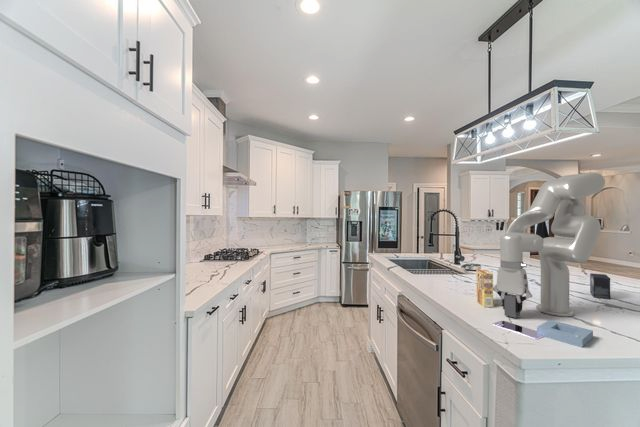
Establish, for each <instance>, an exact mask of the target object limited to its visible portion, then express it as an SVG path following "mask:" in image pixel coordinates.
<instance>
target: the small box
mask: <svg viewBox="0 0 640 427" xmlns="http://www.w3.org/2000/svg"><path fill="white" fill-rule="evenodd" d="M589 286H590V289H589V291H590V294H591V296H592V297H593V298H595V299H604V300H611V278H610V277H609V275H607V274H603V273H591V272H590V274H589Z"/></svg>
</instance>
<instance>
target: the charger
mask: <svg viewBox="0 0 640 427" xmlns="http://www.w3.org/2000/svg"><path fill="white" fill-rule="evenodd" d="M516 302H517V298H516V294H510V293H508V294H507V295H504V309H503V310H504V312H503V313H504V316H506V317H511V318H513V319H517V318H518V317H520V316H521V311H520V312H519V313H517V312H516Z"/></svg>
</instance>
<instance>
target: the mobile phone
mask: <svg viewBox="0 0 640 427" xmlns="http://www.w3.org/2000/svg"><path fill="white" fill-rule="evenodd" d="M491 325H492V326H493V327H495V328H499V329H502V330H504V331H508V332H511V333H514V334H517V335H519V336H523V337H526V338H529V339H532V340H535V341H536V340H540V339H543V338H544V335H542V334H538V333H537V330H536V329H532V328H528V327H525V326H521V325H519V324H516V323H512V322H509V321H505V320H499V321H497V322H493V323H492V324H491Z"/></svg>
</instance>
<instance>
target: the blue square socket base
mask: <svg viewBox="0 0 640 427" xmlns="http://www.w3.org/2000/svg"><path fill="white" fill-rule="evenodd" d="M536 331H537V333H538V334H542V335H544V337H545V338H548V339H552V340H555V341H558V342H562V343H566V344H569V345H573V346H576V347H579V348H584V347H585V346H586V345H587V344H588V343H589V342H590V341H591V340H593V338H594V330H592V329H589V328H584V327H580V326H577V325H572V324H568V323H565V322H560V321H556V320H552V319H548V320H547V321H545V322H543V323H541V324H540V325H538V326H536ZM544 337H543V338H544Z"/></svg>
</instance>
